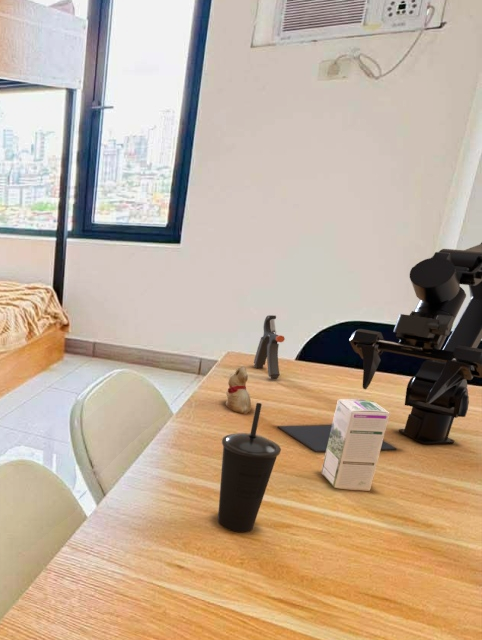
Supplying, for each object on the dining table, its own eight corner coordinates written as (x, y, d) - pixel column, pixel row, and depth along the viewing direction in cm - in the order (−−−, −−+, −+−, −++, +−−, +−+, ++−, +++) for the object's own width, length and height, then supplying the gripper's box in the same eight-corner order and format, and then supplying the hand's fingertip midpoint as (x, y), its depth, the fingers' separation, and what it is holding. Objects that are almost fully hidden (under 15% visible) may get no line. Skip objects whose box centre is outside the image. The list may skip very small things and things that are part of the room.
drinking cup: (258, 515, 99) (283, 397, 92) (267, 541, 92) (295, 416, 86) (205, 508, 102) (226, 392, 95) (210, 532, 95) (233, 410, 88)
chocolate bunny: (252, 403, 145) (260, 362, 141) (249, 414, 138) (257, 372, 135) (225, 399, 147) (232, 359, 144) (221, 410, 141) (228, 368, 138)
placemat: (351, 425, 132) (352, 424, 132) (396, 449, 121) (396, 448, 121) (277, 427, 132) (277, 426, 132) (315, 452, 120) (315, 450, 120)
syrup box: (371, 491, 106) (393, 412, 101) (332, 488, 107) (352, 409, 102) (355, 476, 111) (375, 399, 106) (318, 473, 112) (336, 397, 107)
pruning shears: (270, 381, 159) (281, 323, 154) (252, 366, 171) (262, 312, 166) (279, 381, 159) (291, 323, 154) (261, 366, 171) (271, 312, 165)
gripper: (362, 286, 111) (323, 364, 110) (501, 302, 96) (457, 392, 96) (374, 314, 118) (338, 387, 117) (506, 334, 103) (465, 417, 103)
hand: (394, 395), depth 108 cm, fingers open, 9 cm apart
